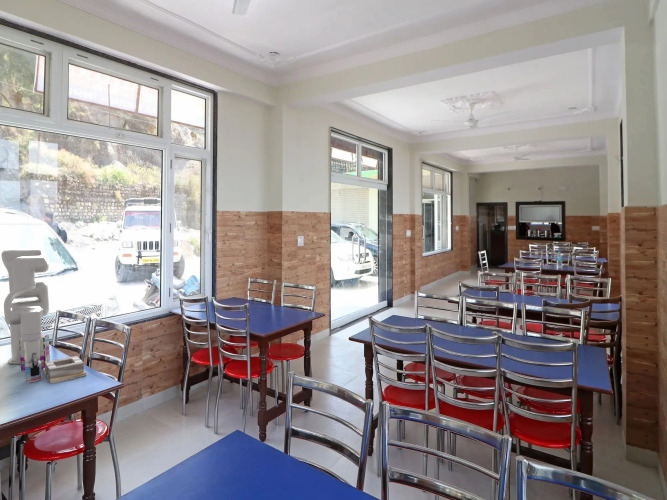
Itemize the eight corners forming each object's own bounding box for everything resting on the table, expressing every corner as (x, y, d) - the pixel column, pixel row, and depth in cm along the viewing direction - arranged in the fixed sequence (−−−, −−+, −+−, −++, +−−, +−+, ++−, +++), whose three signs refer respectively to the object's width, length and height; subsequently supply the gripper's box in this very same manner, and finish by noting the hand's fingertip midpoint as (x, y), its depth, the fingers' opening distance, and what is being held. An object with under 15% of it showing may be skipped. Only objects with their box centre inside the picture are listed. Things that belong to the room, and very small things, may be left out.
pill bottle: (33, 383, 178) (31, 359, 178) (22, 382, 180) (20, 358, 179) (45, 378, 184) (44, 355, 184) (34, 377, 186) (33, 354, 185)
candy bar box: (50, 365, 201) (49, 334, 199) (45, 369, 196) (44, 337, 194) (25, 367, 198) (24, 335, 197) (20, 370, 193) (18, 338, 192)
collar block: (43, 371, 193) (42, 360, 192) (76, 364, 202) (76, 354, 202) (50, 383, 178) (50, 371, 178) (86, 375, 188) (85, 364, 188)
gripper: (19, 334, 184) (20, 369, 185) (23, 342, 172) (25, 380, 173) (38, 331, 189) (40, 365, 190) (45, 338, 177) (46, 375, 178)
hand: (33, 372), depth 182 cm, fingers open, 9 cm apart
